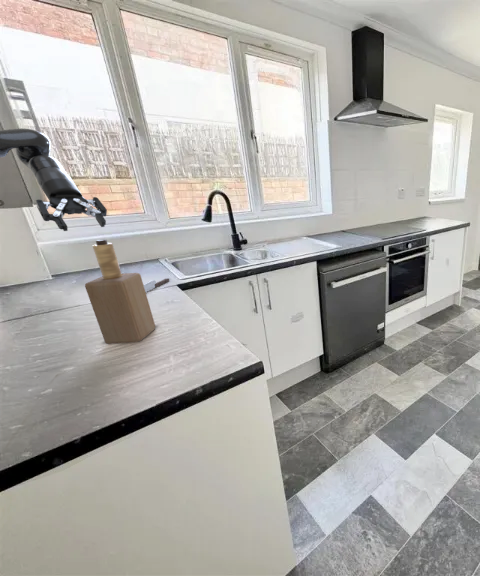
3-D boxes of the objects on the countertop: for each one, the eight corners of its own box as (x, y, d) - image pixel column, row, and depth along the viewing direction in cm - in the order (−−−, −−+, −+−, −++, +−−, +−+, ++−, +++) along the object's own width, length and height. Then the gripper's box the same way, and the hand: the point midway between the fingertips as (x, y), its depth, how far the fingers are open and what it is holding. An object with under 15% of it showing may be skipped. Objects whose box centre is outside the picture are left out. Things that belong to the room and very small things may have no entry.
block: (104, 345, 94) (81, 283, 87) (125, 330, 103) (106, 273, 96) (140, 342, 95) (121, 281, 88) (157, 328, 104) (141, 271, 98)
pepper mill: (110, 279, 90) (97, 241, 86) (99, 278, 91) (87, 241, 87) (125, 275, 94) (114, 239, 90) (115, 274, 95) (104, 238, 91)
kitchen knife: (165, 274, 153) (118, 294, 125) (167, 274, 153) (121, 294, 125) (167, 282, 155) (121, 303, 126) (169, 282, 155) (123, 303, 126)
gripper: (88, 194, 101) (113, 232, 99) (26, 197, 90) (52, 239, 88) (89, 177, 97) (115, 216, 95) (23, 177, 86) (51, 221, 84)
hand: (85, 227), depth 92 cm, fingers open, 8 cm apart
